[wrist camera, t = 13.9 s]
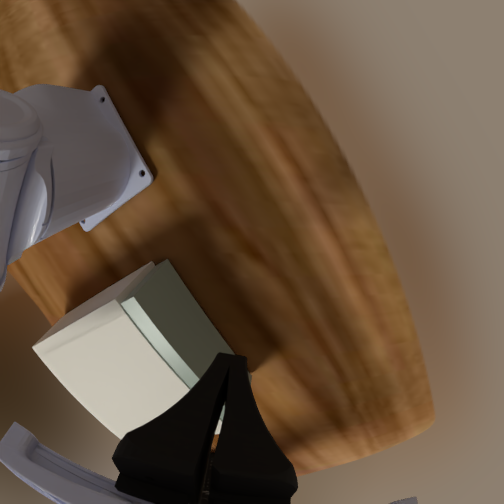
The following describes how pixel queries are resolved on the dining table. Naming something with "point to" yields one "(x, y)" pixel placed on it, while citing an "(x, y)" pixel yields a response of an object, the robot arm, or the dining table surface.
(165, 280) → the grey green drawer
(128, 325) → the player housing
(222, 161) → the dining table surface
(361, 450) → the dining table surface
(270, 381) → the dining table surface
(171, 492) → the robot arm
